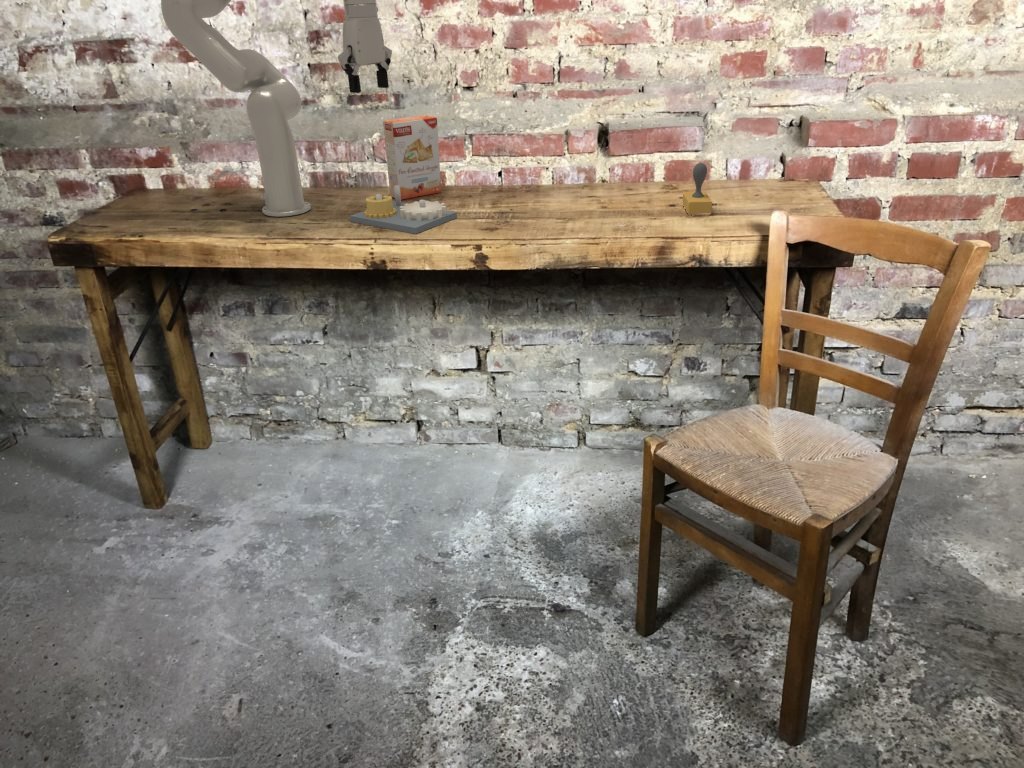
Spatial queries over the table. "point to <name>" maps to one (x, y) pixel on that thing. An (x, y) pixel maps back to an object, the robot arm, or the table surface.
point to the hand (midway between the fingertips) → (369, 90)
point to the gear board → (409, 215)
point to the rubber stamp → (698, 193)
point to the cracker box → (413, 155)
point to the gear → (380, 207)
